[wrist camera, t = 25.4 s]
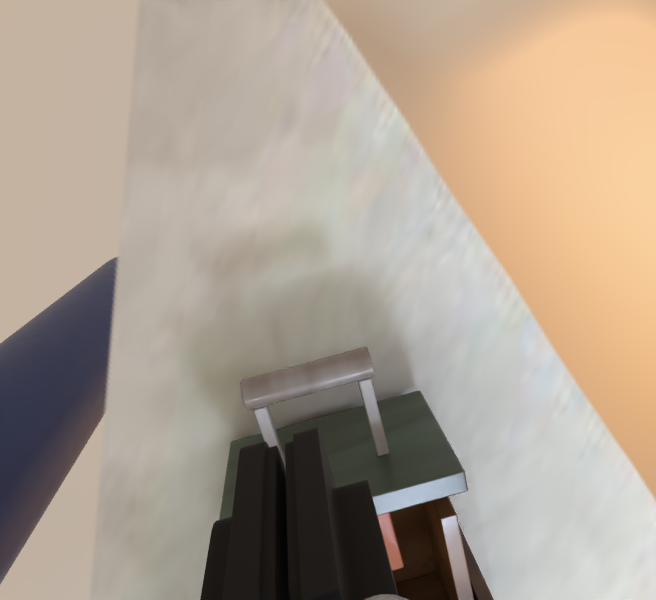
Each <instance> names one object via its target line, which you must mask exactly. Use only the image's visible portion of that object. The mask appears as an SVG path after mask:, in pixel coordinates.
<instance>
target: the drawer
mask: <svg viewBox="0 0 656 600" xmlns="http://www.w3.org/2000/svg"><path fill="white" fill-rule="evenodd" d="M373 376H375V373H374V368H373V364H372V360H371V357H370V354H369V351H368V348H367V347H363V348H359V349H356V350H352V351H348V352H344V353H341V354H337V355H333V356H330V357H326V358H322V359H319V360H315V361H311V362H308V363H304V364H300V365H297V366H293V367H289V368H286V369H282V370H278V371H275V372H271V373H267V374H264V375H260V376H256V377H253V378H249V379H245V380H242V381H241V383H240V388H241V394H242V398H243V402H244V405H245V407H246V408H247V410H252V409H254V413H255V416H256V419H257V422H258V425H259V428H260V431H261V434H258V435H254V436H250V437H247V438H243V439H239V440H236V441H232V442H231V445H230V451H229V458H228V465H227V471H226V478H225V485H224V492H223V498H222V505H221V512H220V518H219V520H222V519H225V518H229V517H232V511H233V502H234V494H235V485H236V477H237V469H238V460H239V452H240V449H241V448H243V447H246V446H250V445H254V444H257V443H261V442H265V441H266V442H267V444H268V445H269V447H272V446H276V445H277V446H278V448H279V451H280V454H281V457H282V460H283V462H284V465H285V443H287V442H291V441H293V434H294V433H298V432H301V431H305V430H309V429H312V428H316V427H318V428H319V431H320V434H321V437H322V441H323V444H324V447H325V450H326V454H327V457H328V460H329V464H330V467H331V470H332V474H333V477H334V480H335V484H336V487H337V488H338V487H342V486H346V485H349V484H353V483H357V482H360V481H364V480H368V483H369V486H370V490H371V494H372V497H373V501H374V505H375V508H376V512H377V516H378V515H382V514H386V513H389V512H390V516H391V519H392V523H393V527H394V531H395V534H396V538H397V542H398V545H399V549H400V553H401V557H402V560H403V564H404V567H403V568H399V569H396V570H392V573H393V576H394V580H395V584H396V588H397V592H398V596H400V597H403V598H406V599H409V600H474V598H473V593H472V588H471V583H470V578H469V573H468V568H467V563H466V558H465V553H464V548H463V544H462V539H461V534H460V529H459V524H458V519H457V514H456V512H455V510H454V508H453V506H452V504H451V502H450V499H449V497H448V496H451V495H455V494H458V493H462V492H465V491H467V490H468V487H467V482H466V477H465V471H464V469H463V467H462V466H461V464H460V462H459V460H458V458H457V456H456V455H455V453H454V451H453V449H452V447H451V446H450V444H449V442H448V440H447V438H446V437H445V435H444V433H443V431H442V429H441V428H440V426H439V424H438V422H437V420H436V419H435V417H434V415H433V413H432V411H431V409H430V408H429V406H428V404H427V402H426V400H425V399H424V397H423V395H422V393H421V392H420V391H415V392H411V393H408V394H404V395H400V396H397V397H393V398H389V399H386V400H382V401H378V402H377V401H376V397H375V393H374V389H373V385H372V381H371V378H370V377H373ZM355 381H358V384H359V387H360V391H361V395H362V399H363V403H364V406H360V407H356V408H353V409H349V410H345V411H342V412H338V413H334V414H331V415H327V416H323V417H320V418H316V419H312V420H309V421H305V422H301V423H298V424H294V425H291V426H287V427H283V428H280V429H275V426H274V423H273V420H272V417H271V414H270V412H269V409H268V406H267V405H271V404H274V403H278V402H282V401H285V400H289V399H293V398H296V397H300V396H304V395H307V394H311V393H315V392H318V391H322V390H326V389H329V388H333V387H337V386H340V385H344V384H348V383H351V382H355ZM285 468H286V465H285Z"/></svg>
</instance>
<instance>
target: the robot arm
mask: <svg viewBox="0 0 656 600" xmlns="http://www.w3.org/2000/svg"><path fill="white" fill-rule="evenodd" d="M285 465H286V468H285ZM285 465H284V462H283V460H282V457H281V454H280V451H279V448H278V446H277V445H276V446H272V447H269V445H268V444H267V442H266V441H265V442H261V443H257V444H254V445H250V446H246V447H243V448H241V449H240V452H239V460H238V469H237V477H236V485H235V494H234V502H233V511H232V517H229V518H225V519H222V520H218V521H216V522H215V523H214V524H213V528H212V532H211V538H210V544H209V551H208V557H207V563H206V569H205V575H204V581H203V587H202V593H201V599H200V600H409V599H406V598H403V597H400V596H398V592H397V588H396V584H395V580H394V576H393V573H392V569H391V565H390V561H389V557H388V553H387V550H386V546H385V542H384V538H383V534H382V531H381V527H380V523H379V519H378V516H377V512H376V508H375V505H374V501H373V497H372V494H371V490H370V486H369V483H368V480H364V481H360V482H357V483H353V484H349V485H346V486H342V487H338V488H337V487H336V484H335V480H334V477H333V474H332V470H331V467H330V464H329V460H328V457H327V454H326V450H325V447H324V444H323V441H322V437H321V434H320V431H319V428H318V427H316V428H312V429H309V430H305V431H301V432H298V433H294V434H293V441H291V442H287V443H285Z"/></svg>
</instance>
